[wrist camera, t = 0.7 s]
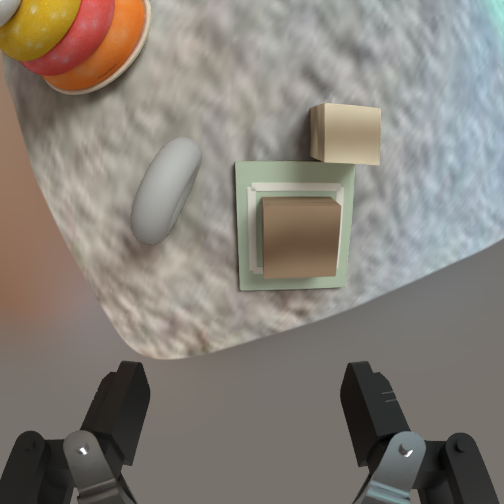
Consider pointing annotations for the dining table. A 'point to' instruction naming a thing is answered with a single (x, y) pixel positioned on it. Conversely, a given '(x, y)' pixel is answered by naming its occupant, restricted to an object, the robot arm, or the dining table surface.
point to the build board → (288, 184)
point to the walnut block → (300, 236)
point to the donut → (165, 189)
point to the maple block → (345, 134)
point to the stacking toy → (75, 39)
